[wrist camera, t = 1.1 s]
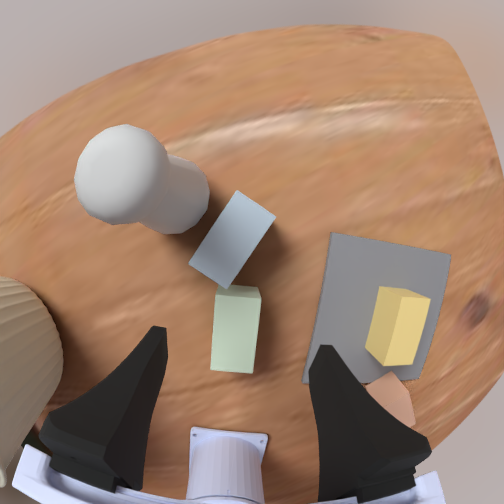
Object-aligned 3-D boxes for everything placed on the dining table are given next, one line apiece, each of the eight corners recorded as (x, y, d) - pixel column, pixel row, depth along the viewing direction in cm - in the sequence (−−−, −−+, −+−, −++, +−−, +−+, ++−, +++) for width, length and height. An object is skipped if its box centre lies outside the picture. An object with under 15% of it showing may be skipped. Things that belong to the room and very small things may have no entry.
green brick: (250, 351, 24) (252, 373, 20) (214, 348, 24) (210, 369, 20) (257, 286, 24) (261, 298, 20) (219, 283, 23) (215, 294, 19)
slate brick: (228, 278, 23) (226, 289, 19) (196, 257, 23) (188, 263, 19) (269, 218, 23) (276, 216, 19) (237, 196, 23) (236, 190, 19)
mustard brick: (391, 347, 24) (412, 364, 20) (364, 347, 24) (383, 365, 20) (406, 289, 24) (430, 298, 20) (379, 286, 24) (402, 296, 20)
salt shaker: (211, 161, 22) (182, 90, 9) (214, 230, 23) (185, 238, 10) (143, 168, 22) (58, 119, 9) (146, 235, 23) (55, 248, 10)
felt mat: (416, 376, 25) (418, 378, 25) (301, 380, 25) (302, 383, 24) (448, 254, 24) (451, 254, 24) (330, 232, 23) (332, 232, 23)
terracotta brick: (400, 402, 26) (415, 423, 22) (377, 416, 26) (390, 439, 22) (391, 370, 24) (409, 392, 20) (364, 386, 25) (379, 410, 21)
